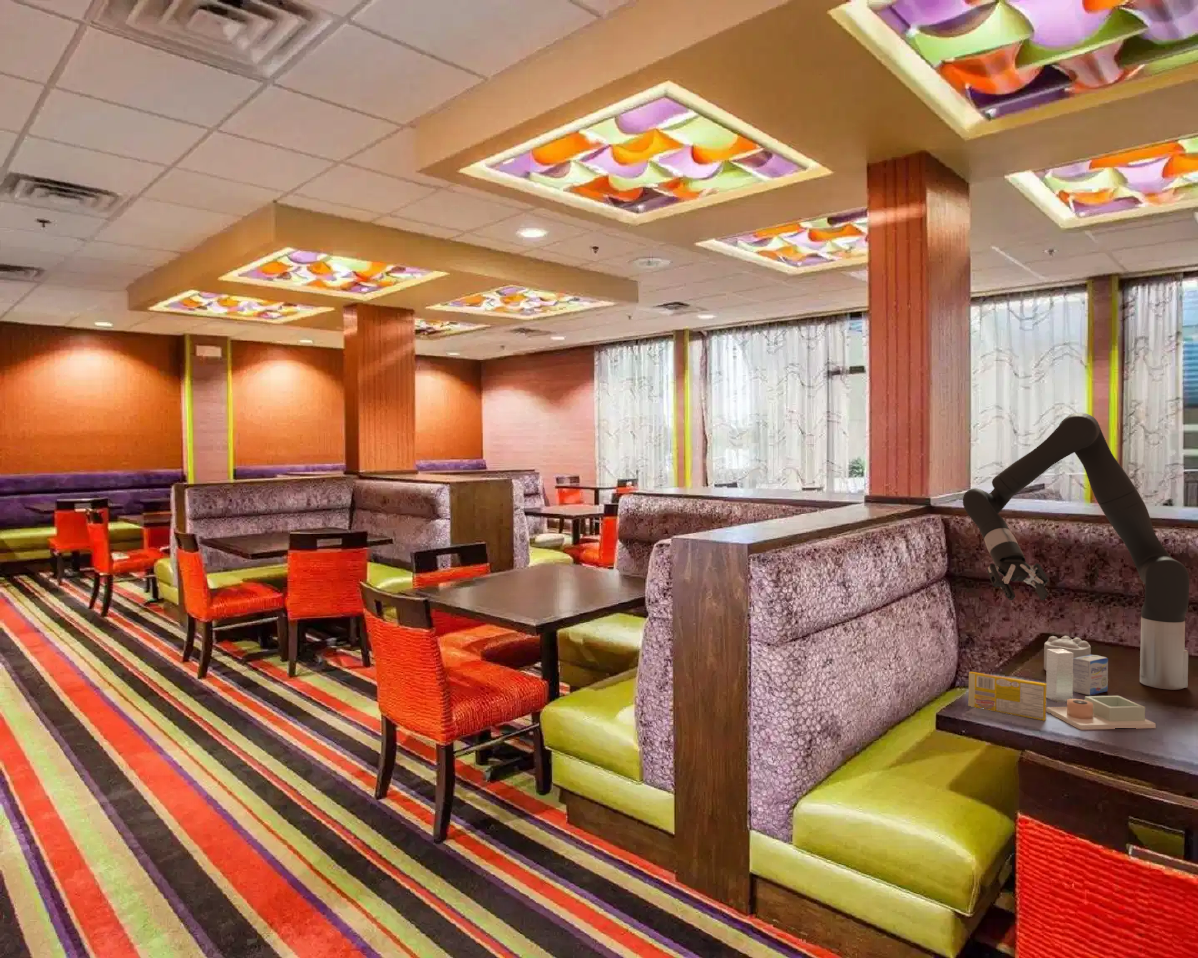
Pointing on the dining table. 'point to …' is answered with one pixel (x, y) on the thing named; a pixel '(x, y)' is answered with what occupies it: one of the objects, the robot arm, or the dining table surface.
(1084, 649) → the lumpy-topped squat cylinder
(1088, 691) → the medicine box
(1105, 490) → the robot arm
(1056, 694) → the plain beige rectangular box
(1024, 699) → the candy box
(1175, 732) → the dining table surface
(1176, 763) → the dining table surface
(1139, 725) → the organizer
